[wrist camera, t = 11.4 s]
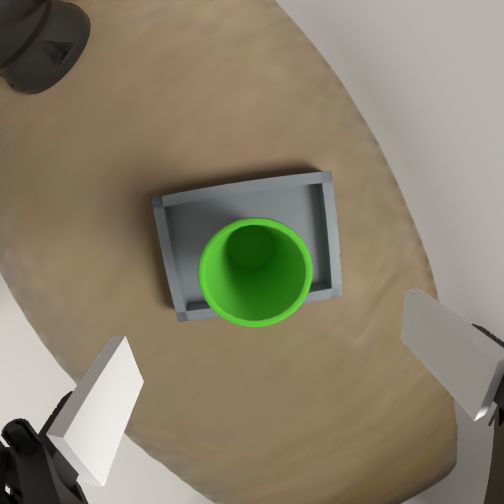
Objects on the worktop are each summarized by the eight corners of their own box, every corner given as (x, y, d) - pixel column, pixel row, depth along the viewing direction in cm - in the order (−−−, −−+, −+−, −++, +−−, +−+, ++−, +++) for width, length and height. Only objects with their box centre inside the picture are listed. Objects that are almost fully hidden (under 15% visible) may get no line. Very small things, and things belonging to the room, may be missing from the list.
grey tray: (158, 196, 32) (151, 198, 29) (323, 171, 33) (331, 170, 30) (182, 311, 36) (178, 321, 33) (334, 287, 36) (341, 295, 33)
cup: (250, 188, 32) (256, 191, 21) (305, 245, 33) (335, 275, 23) (193, 245, 33) (173, 275, 22) (249, 298, 35) (255, 347, 24)
